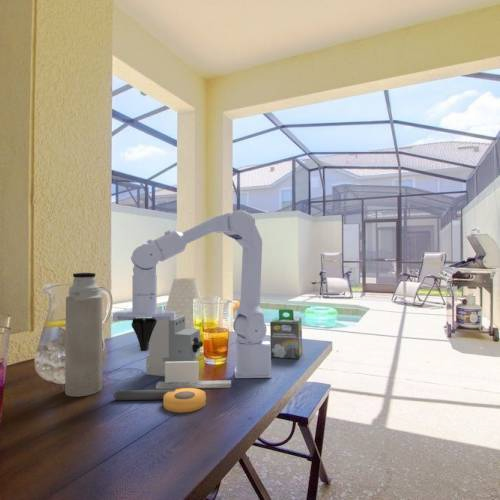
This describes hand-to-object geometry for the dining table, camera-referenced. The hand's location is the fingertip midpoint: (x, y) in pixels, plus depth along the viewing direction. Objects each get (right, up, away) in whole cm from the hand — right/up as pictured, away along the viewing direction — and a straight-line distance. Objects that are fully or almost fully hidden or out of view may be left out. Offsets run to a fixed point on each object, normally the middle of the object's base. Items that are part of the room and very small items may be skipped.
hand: (144, 350), depth 90 cm
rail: (+12, -9, +1) cm, 15 cm away
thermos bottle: (-14, -9, -2) cm, 17 cm away
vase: (0, -10, +56) cm, 57 cm away
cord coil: (+12, -9, -10) cm, 18 cm away
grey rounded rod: (+2, -9, -8) cm, 12 cm away
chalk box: (+38, -10, +30) cm, 49 cm away
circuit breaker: (+5, -10, +12) cm, 16 cm away
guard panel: (+9, -8, 0) cm, 12 cm away
